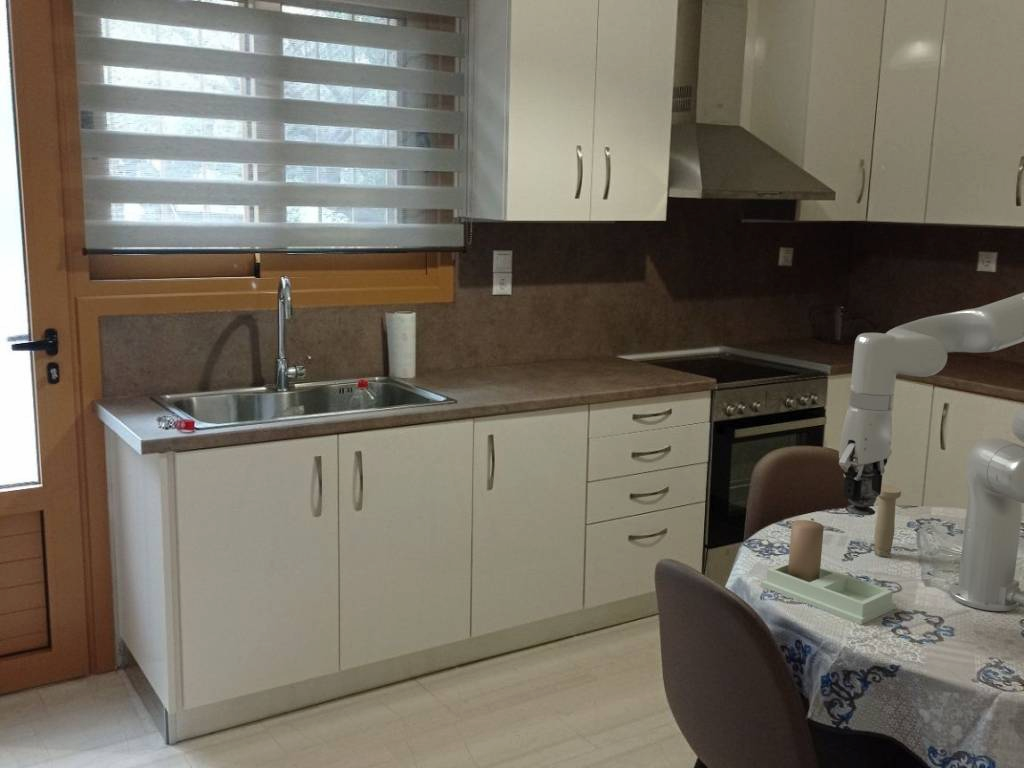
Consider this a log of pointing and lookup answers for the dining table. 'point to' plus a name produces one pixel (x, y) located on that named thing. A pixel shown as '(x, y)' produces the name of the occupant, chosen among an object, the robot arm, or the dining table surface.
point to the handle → (886, 519)
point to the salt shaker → (864, 494)
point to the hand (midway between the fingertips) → (862, 495)
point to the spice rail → (824, 580)
